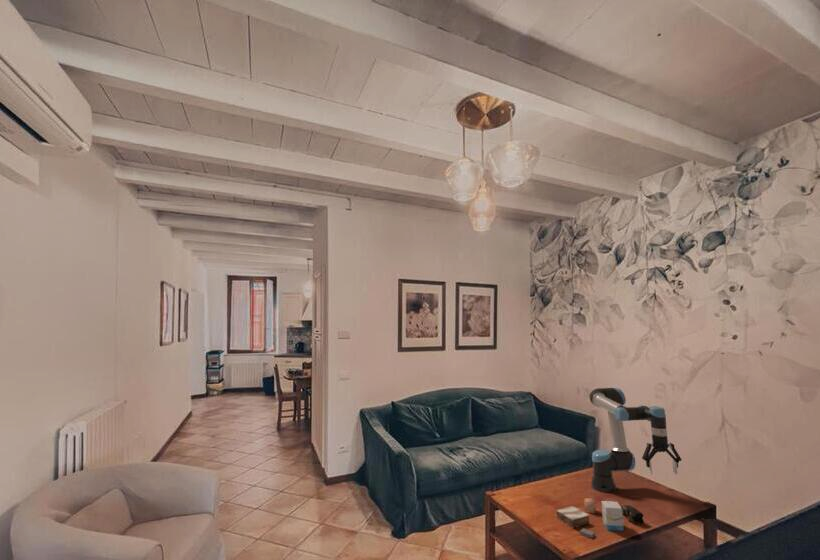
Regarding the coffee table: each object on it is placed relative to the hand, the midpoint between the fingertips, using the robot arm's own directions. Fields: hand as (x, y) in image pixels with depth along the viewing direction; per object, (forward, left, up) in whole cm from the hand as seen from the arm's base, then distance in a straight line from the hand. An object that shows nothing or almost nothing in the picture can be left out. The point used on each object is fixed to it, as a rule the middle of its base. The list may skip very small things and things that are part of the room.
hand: (662, 473), depth 220 cm
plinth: (-22, -48, -25) cm, 58 cm away
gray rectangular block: (-8, -52, -26) cm, 58 cm away
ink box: (-8, -33, -26) cm, 42 cm away
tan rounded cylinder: (-26, -30, -25) cm, 47 cm away
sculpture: (-9, -17, -26) cm, 32 cm away
